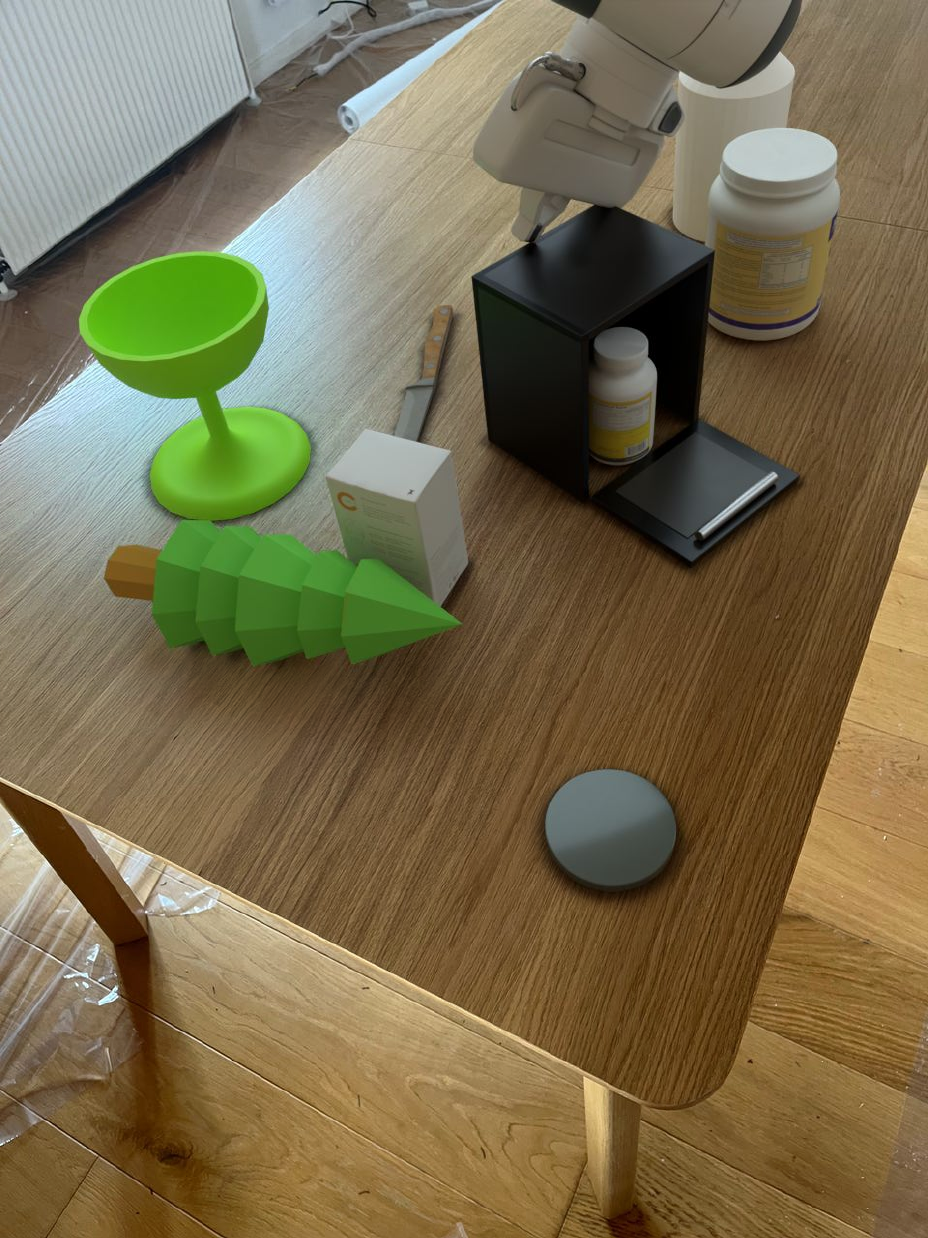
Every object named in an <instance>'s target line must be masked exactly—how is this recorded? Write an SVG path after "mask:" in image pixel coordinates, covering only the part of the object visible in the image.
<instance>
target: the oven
mask: <svg viewBox="0 0 928 1238" xmlns="http://www.w3.org/2000/svg"><path fill="white" fill-rule="evenodd" d="M714 257H715V250H714V249H711V248H709V247H707V246H705V244H702V243H700V242H698V241H696V240H694V239H692V238H690V237H687V236H684V235H682V234H681V233H680V234H679V233H677V232H675V231H673V230H670V229H668V228H666V227H664V226H661V225H659V224H657V223H656V222H653V221H650V220H648V219H646V218H644V217H641V216H639V215H637V214H635V213H632V212H630V211H627V210H626V209H623V208H619V207H616V206H614V207H612V208H605V207H601V206H597V205H593V204H592V206H589V207H588V208H586V209H584V210H583V211H581V212H579V213H577V214H576V215H574V216H573V217H572V216H571V218H569V219H567V220H565V221H564V222H562V223H560V224H559V225H557V226H555V227H553V228H552V229H550V230H548V231H547V232H545V233H542V235H541V237H540V238H539V240H538V242H536V243H529V242H527V243H525V244H524V245H523V246H520V247H519V248H518V249H517V248H516V249H515V250H513V251H512V252H510V253H509V254H507V255H505V256H504V257H502V258H500V259H498V260H497V261H495V262H493V263H491V264H490V265H488V266H487V267H485V268H483V269H481V270H480V271H478V272H476V273H474V274H472V275H471V286H472V297H473V306H474V307H473V308H474V316H475V325H476V335H477V344H478V354H479V363H480V364H479V365H480V373H481V374H480V375H481V383H482V393H483V405H484V412H485V422H486V431H487V432H486V433H487V440H488V441H489V442H491V443H492V444H494V445H495V446H497V448H499V449H501V450H502V451H504V452H505V453H507V454H508V455H510V456H511V457H513V458H514V459H516V460H517V461H519V462H520V463H521V464H523V465H525V466H527V468H530V469H531V470H532V471H534V472H536V473H537V474H538V475H539V476H541V477H543V479H546V480H547V481H549V482H550V483H553V485H554V486H556V487H558V488H559V489H561V490H562V491H564V492H565V493H567V494H568V495H570V496H571V497H573V498H574V499H576V500H577V501H579V502H580V503H582V504H585V503H586V502H587V501H589V500H591V504H593V505H595V506H596V507H598V508H599V509H601V510H602V511H604V512H605V513H607V514H608V515H610V516H611V517H613V518H614V519H616V520H617V521H619V522H620V523H622V524H623V525H625V526H626V527H628V528H629V529H631V530H633V531H634V532H635V533H637V534H639V535H640V536H642V537H643V538H645V539H646V540H648V541H649V542H651V543H652V544H654V545H655V546H656V547H659V549H660V550H663V551H664V552H666V553H667V554H669V555H671V557H673V558H675V559H676V560H678V561H679V562H680V563H682V564H684V565H685V566H687V567H689V568H690V569H692V568H693V567H694V566H696V565H697V564H699V562H700V561H702V560H703V559H704V558H706V557H707V556H708V555H709V554H711V553H712V552H713V551H714V550H715V549H717V548H718V547H720V545H722V544H723V543H724V542H726V541H727V540H728V539H729V538H731V537H732V536H733V535H734V534H736V532H738V531H739V530H740V529H742V528H743V527H744V526H745V525H747V524H748V523H749V522H750V521H752V520H753V519H754V518H755V517H757V515H759V514H760V513H761V512H763V511H764V510H765V509H766V508H768V507H769V506H770V505H772V504H773V503H774V502H775V501H776V500H778V499H779V498H780V497H781V496H783V495H784V494H785V493H787V492H788V491H789V490H790V489H791V488H793V487H794V486H795V485H796V484H798V482H800V481H799V480H800V477H801V475H800V474H798V473H797V472H795V471H793V470H792V469H790V468H788V467H787V466H784V465H783V464H781V463H779V462H777V461H775V460H774V459H772V458H770V457H768V456H767V455H765V454H763V453H761V452H760V451H758V450H756V449H754V448H753V447H751V446H749V445H748V444H745V443H743V442H741V441H740V440H738V439H737V438H734V437H733V436H731V435H729V434H727V433H726V432H724V431H722V430H720V429H718V428H716V427H715V426H713V425H711V424H709V423H708V422H706V421H704V420H702V419H700V418H699V416H700V414H699V413H700V405H701V396H702V385H703V375H704V367H705V365H704V364H705V356H706V355H705V354H706V346H707V345H706V344H707V337H708V325H709V322H708V317H709V307H710V297H711V287H712V277H713V267H714ZM614 327H629V328H633V329H636V330H638V331H640V332H642V333H643V334H644V335H645V336H646V338H647V340H648V358H649V359H650V360H651V361H652V362H653V364H654V365H655V368H656V371H657V388H656V404H658V405H659V406H661V407H663V408H665V409H667V410H668V411H670V412H672V413H673V414H676V415H677V416H679V417H681V418H682V419H685V420H686V421H688V422H690V423H689V424H688V425H687V426H685V427H684V428H682V429H681V430H680V431H679V432H677V433H676V434H674V435H673V436H672V437H670V438H669V439H668V440H666V441H665V442H664V443H662V444H661V445H659V446H658V447H656V448H655V449H654V450H652V451H651V452H650V453H648V454H647V455H646V456H645V457H643V458H642V459H640V460H639V461H637V462H635V464H633V465H632V466H631V467H629V468H628V469H626V470H625V471H624V472H622V473H621V474H619V475H618V476H617V477H616V478H614V479H613V480H611V481H610V482H608V483H606V485H605V486H603V487H602V488H600V489H598V491H596V492H595V493H594V494H592V495H591V499H590V454H589V362H590V361H591V360H592V359H593V358H594V357H593V343H594V340H595V338H596V337H597V336H598V335H599V334H600V333H601V332H603V331H605V330H607V329H610V328H614Z"/></svg>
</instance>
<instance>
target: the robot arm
mask: <svg viewBox="0 0 928 1238" xmlns="http://www.w3.org/2000/svg"><path fill="white" fill-rule="evenodd" d="M550 1H551V2H553V3H555V4H557V5H559V6H561V7H563V8H565V9H567V10H569V11H570V12H573V13H576V14H577V18H576V20H575V22H574V23H573V25H572V28H571V29H570V31H569V32H568V33H569V34H568V35H567V37H566V39H565V41H564V43H563V44H562V47H561V48H560V50H559V52H558V53H556V52H554V51H545V52H544V53H543V54H542V55H541V56H538V57H536V58H535V59H534V60H532V61H529V62H528V63H526V65H525V66H524V68H523V69H522V70H521V71H520V72H518V74H517V75H516V74H515V76H514V77H513V78H512V79H511V81H510V82H509V83H508V84H507V86H506V87H505V89H504V90H503V92H502V94H501V95H500V97H499V98H498V100H497V101H496V102H495V105H494V106H493V108H492V109H491V111H490V112H489V114H488V116H487V118H486V120H485V122H484V123H483V125H482V126H481V128H480V130H479V132H478V133H477V135H476V138H475V140H474V143H473V147H472V159H473V162H474V163H475V164H476V165H477V166H478V167H479V168H481V169H482V170H483V171H484V172H486V173H487V174H489V175H490V176H491V177H492V178H493V179H495V180H496V181H497V182H499V183H503V184H507V185H511V186H515V187H519V188H521V191H520V197H519V198H520V200H519V208H518V215H517V216H516V219H515V220H514V222H513V224H512V226H511V229H510V231H511V235H513V236H514V237H515V238H516V239H517V240H519V241H520V242H523V243H536V242H538V240H539V238H540V237H541V235H543V234H544V231H545V230H546V228H547V227H548V226H549V225H551V224H552V223H553V222H554V221H555V220H556V219H557V218H558V217H559V216H560V215H562V214H563V213H564V212H565V211H566V209H567V207H568V205H569V203H570V202H571V200H573V201H577V202H581V203H586V204H589V205H592V206H593V205H597V206H601V207H605V208H612V207H614V206H616V207H619V208H621V209H623V207H625V206H626V205H627V204H628V203H629V202H630V201H631V200H633V198H634V197H635V196H636V194H637V192H638V191H639V189H640V188H641V186H642V185H643V184H644V182H645V180H646V179H647V177H648V176H649V175H650V172H651V171H652V169H653V167H654V166H655V164H656V162H657V161H658V159H659V157H660V156H661V154H662V152H663V149H664V147H665V143H666V139H665V137H667V138H673V137H674V136H676V133H677V132H678V130H679V129H680V127H681V125H682V124H683V122H684V120H685V111H684V109H683V107H682V105H681V103H680V101H679V99H678V92H677V90H676V87H675V85H674V83H675V81H676V80H677V78H678V77H679V73H680V71H681V72H683V73H684V74H686V75H688V76H689V77H691V78H693V79H694V80H696V81H699V82H701V83H704V84H706V85H711V86H715V87H716V88H719V89H723V88H728V87H732V86H735V85H738V84H741V83H743V82H745V81H747V80H749V79H751V78H752V77H754V76H756V75H757V74H758V73H760V72H761V71H763V70H764V69H765V68H766V67H767V66H768V65H769V64H770V63H771V62H772V61H773V60H774V58H775V57H776V56H777V54H778V53H779V52H781V51H782V49H783V47H784V46H785V44H786V43H787V41H788V40H789V38H790V36H791V35H792V32H793V30H794V28H795V27H796V24H797V23H798V22H797V21H798V20H799V17H800V14H801V9H802V8H801V7H802V4H803V0H550Z"/></svg>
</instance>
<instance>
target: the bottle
mask: <svg viewBox="0 0 928 1238" xmlns="http://www.w3.org/2000/svg"><path fill="white" fill-rule="evenodd" d="M795 74H796V68H795V67H794V64H793V63H792V62H791V61H790V60H789V59H788V58H787V57H786V55H784V53H782V52H781V51H780V52H779V53H778V54H777V56H776V57H775V58H774V60H773V61H772V62H771V63H770V64H769V65H768V66H767V67H766V68H765V69H764V70H763V71H761V72H760V73H758V74H757V75H756V76H754V77H752V78H751V79H749V80H747V81H745V82H743V83H741V84H738V85H735V86H732V87H728V88H723V89H719V88H716V87H715V86H711V85H706V84H704V83H701V82H699V81H696V80H694V79H693V78H691V77H689V76H688V75H686V74H684V73H683V72H681V71H680V73H679V75H678V81H677V82H678V83H677V96H678V99H679V101H680V103H681V105H682V107H683V109H684V111H685V120H684V122H683V124H682V125H681V127H680V129H679V130H678V132H677V133H676V134H675V150H674V151H675V152H674V153H675V154H674V172H673V173H674V174H673V177H674V178H673V201H672V223H673V225H674V226H675V229H677V230H678V231H679V232H680V234H683V236H684V235H685V237H687V238H689V239H692V240H694V241H699V242H703V243H705V236H706V224H707V212H708V197H709V193H710V189H711V186H712V184H713V182H714V181H715V179H716V178H717V177H718V175H719V174H720V166H721V163H722V157H723V152H724V149H725V148H726V146H727V145H728V144H729V143H730V142H731V141H733V140H734V139H736V138H737V137H739V136H742V135H744V134H747V133H750V132H753V131H757V130H762V129H771V128H787V126H788V120H789V114H790V113H789V112H790V107H791V100H792V95H793V88H794V82H795Z"/></svg>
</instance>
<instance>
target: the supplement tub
mask: <svg viewBox="0 0 928 1238" xmlns="http://www.w3.org/2000/svg"><path fill="white" fill-rule="evenodd" d="M837 161H838V150H837V147H836V146H835V145H834V144H833V142H831V140H829V139H828V138H826V137H824V136H822V135H821V134H818V133H816V132H812V131H809V130H806V129H800V128H793V127H792V128H791V127H786V128H771V129H762V130H757V131H753V132H750V133H747V134H744V135H742V136H739V137H737V138H736V139H734V140H733V141H731V142H730V143H729V144H728V145H727V146H726V148H725V149H724V152H723V157H722V163H721V166H720V174H719V175H718V177H717V178H716V179H715V181H714V182H713V184H712V186H711V189H710V193H709V197H708V212H707V224H706V236H705V242H704V245H705V246H707V247H709V248H711V249H714V250H715V257H714V267H713V277H712V287H711V297H710V307H709V317H708V324H710V325H711V326H712V327H713V328H715V329H716V330H718V331H720V332H722V333H723V334H725V335H728V336H731V337H734V338H738V339H742V340H743V339H744V340H747V341H748V340H749V341H773V340H774V341H775V340H780V339H784V338H788V337H790V336H793V335H796V334H797V333H799V332H801V331H803V330H804V329H805V328H807V327H809V325H811V323H812V322H813V321H814V320H815V318H817V316H818V314H819V310H820V308H821V304H822V297H823V292H824V287H825V282H826V276H827V270H828V265H829V260H830V254H831V249H832V244H833V239H834V233H835V229H836V228H835V227H836V222H837V217H838V213H839V207H840V205H841V204H840V203H841V190H840V189H841V188H840V185H839V183H838V180H837V179H836V175H837V170H838V168H837V163H838V162H837Z"/></svg>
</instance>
